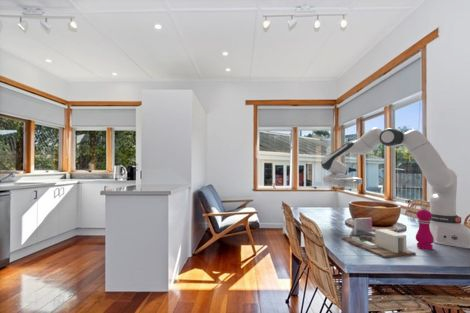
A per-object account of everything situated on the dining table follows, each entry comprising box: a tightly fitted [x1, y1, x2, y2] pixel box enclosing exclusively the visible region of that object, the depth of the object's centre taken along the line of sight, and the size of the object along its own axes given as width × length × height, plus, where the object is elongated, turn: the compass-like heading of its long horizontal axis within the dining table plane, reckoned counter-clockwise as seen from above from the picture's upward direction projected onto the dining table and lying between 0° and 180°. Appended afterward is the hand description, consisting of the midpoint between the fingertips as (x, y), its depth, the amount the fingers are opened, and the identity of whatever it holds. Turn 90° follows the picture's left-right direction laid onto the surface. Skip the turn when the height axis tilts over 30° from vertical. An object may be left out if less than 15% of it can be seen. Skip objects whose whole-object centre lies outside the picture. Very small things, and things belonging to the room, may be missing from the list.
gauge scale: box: [351, 236, 377, 248], centre depth 134 cm, size 14×3×2 cm, turn 13°
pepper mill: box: [415, 206, 434, 251], centre depth 131 cm, size 7×7×20 cm
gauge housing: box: [375, 228, 407, 253], centre depth 127 cm, size 12×6×8 cm, turn 13°
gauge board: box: [340, 236, 417, 259], centre depth 133 cm, size 30×17×1 cm, turn 13°
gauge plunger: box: [352, 217, 376, 238], centre depth 135 cm, size 20×14×10 cm
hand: (354, 182), depth 163 cm, fingers closed
